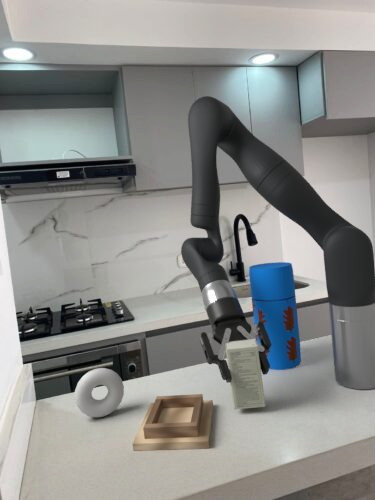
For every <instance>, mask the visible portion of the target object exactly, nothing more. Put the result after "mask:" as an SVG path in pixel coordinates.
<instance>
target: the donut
mask: <svg viewBox="0 0 375 500" xmlns="http://www.w3.org/2000/svg"><path fill="white" fill-rule="evenodd" d="M98 386H104V387H106V389H107V394H106V396H105V397H103V398H101V399H96V398H94V396H93V395H92V392H93V390H94V389H95V388H96V387H98ZM124 390H125V386H124V382H123V380H122V378H121V376H120V375H119V374H118V372H116V371H114V370H112V369H109V368H105V367H99V368H97V367H96V368H94V369H92V370H89V371H88V372H86V373H84V375H83V376H82V377H81V378H80V379H79V380H78V382H77V384H76V387H75V390H74V400H75V404H76V407H77V408H78V410H80V412H81V413H82V414H84V415H86V416H87V417H91V418H103V417H105V416H107V415H111V414H112V413H113V412H114V411H115V410H117V408H118V407H119V406H120V404H121V403H122V400H123V398H124V395H125V391H124Z"/></svg>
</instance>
